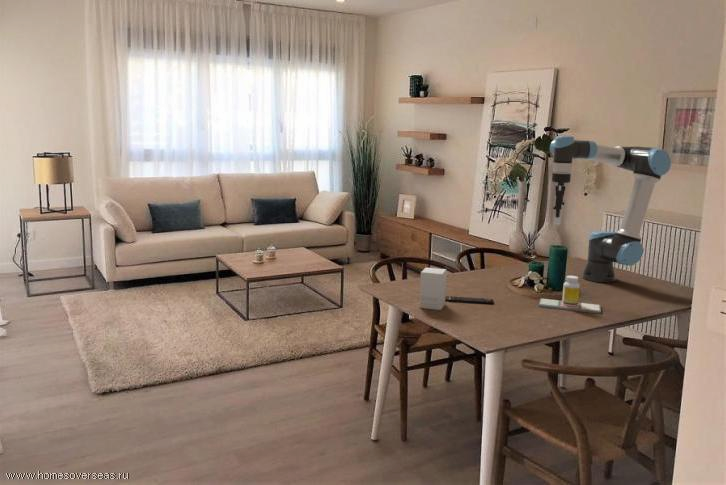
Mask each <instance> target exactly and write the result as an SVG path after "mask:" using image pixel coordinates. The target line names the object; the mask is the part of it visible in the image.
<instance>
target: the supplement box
mask: <svg viewBox="0 0 726 485" xmlns="http://www.w3.org/2000/svg"><path fill="white" fill-rule="evenodd" d="M419 285H420V286H419V287H420V288H419V289H420V290H419V309H426V310H427V309H429V310H438V311H441V310H443V308H444V306H446V302H445V296H446V293H447V292H446V289H447V269H446V268H435V267H425V268H424V269H423V270H422V271H420V284H419Z"/></svg>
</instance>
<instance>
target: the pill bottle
mask: <svg viewBox="0 0 726 485" xmlns="http://www.w3.org/2000/svg"><path fill="white" fill-rule="evenodd" d="M578 281H579V277H578V276H576V275H566V278H565V282H563V285H562V297H561V298H562V299H561V301H562V303H563V304H564V305H567V306H577V305H578V302H579V300H580V290H581V289H580V288H581V285H580V283H579V282H578Z"/></svg>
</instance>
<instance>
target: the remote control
mask: <svg viewBox="0 0 726 485" xmlns="http://www.w3.org/2000/svg"><path fill="white" fill-rule="evenodd" d="M445 301H449V303H462V302H463V304H464V303H465V304H466V303H468V304H481V305H494V302H495V301H494V299H492V298H485V297H484V298H481V297H464V296H452V295H451V296H450V295H447V296H446V295H445Z"/></svg>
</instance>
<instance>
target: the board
mask: <svg viewBox="0 0 726 485" xmlns="http://www.w3.org/2000/svg"><path fill="white" fill-rule="evenodd" d="M538 307H540V308H547V309H555V310H556V309H557V310H564V311H566V310H567V311H572V312H573V311H575V312H584V313H592V314H599V315H600V314H602V309H601V308H602V307H601V304H596V303H588V302H578V305H577V306H567V305H564V304H563V303H562V299H559V300H558V299H551V298H542V297H541V298H539V303H538Z"/></svg>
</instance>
